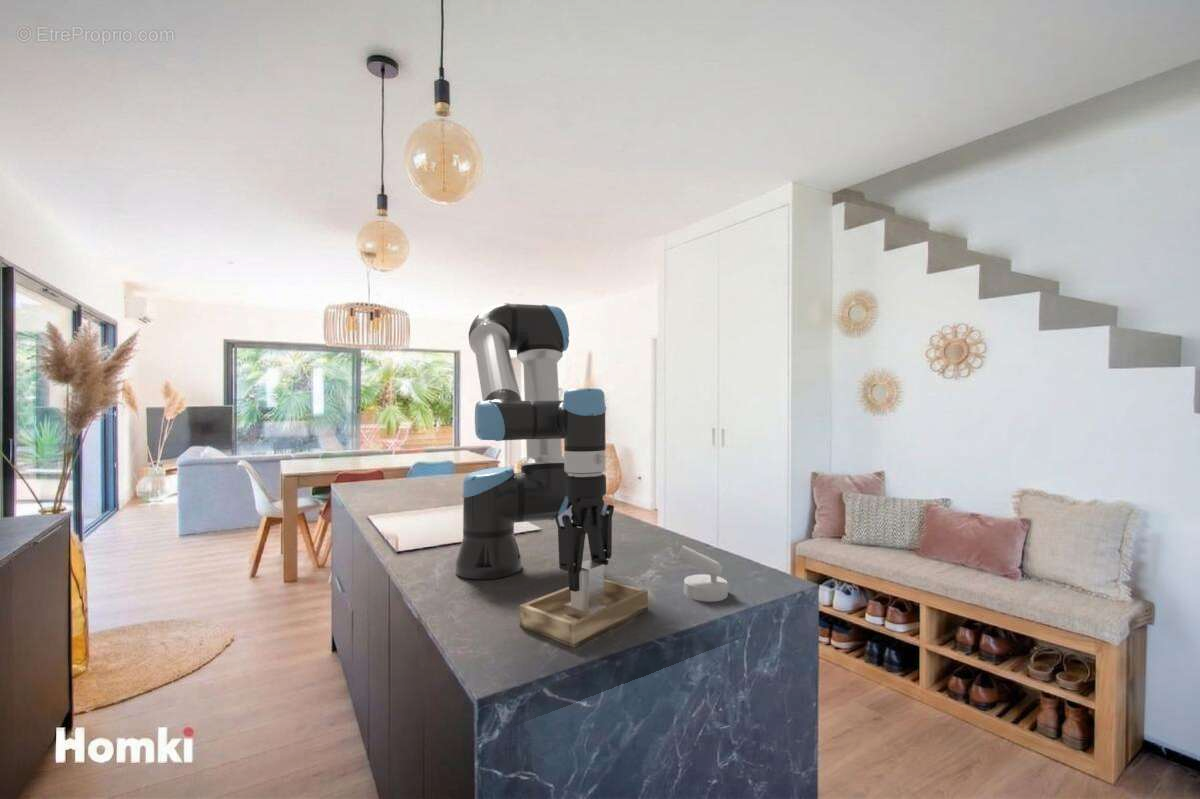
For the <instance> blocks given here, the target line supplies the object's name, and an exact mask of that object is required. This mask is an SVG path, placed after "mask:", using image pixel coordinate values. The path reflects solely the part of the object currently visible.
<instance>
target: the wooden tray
mask: <svg viewBox="0 0 1200 799" xmlns="http://www.w3.org/2000/svg"><path fill="white" fill-rule="evenodd" d="M648 597H649V595H648V590H645V589H642V588H638V587H635V586H631V585H628V584H627V585H626V584H624V583H621V582H617V581H613V580H609V579H606V578H604V606H605V608H602V609H600V610H598V611H596V612H594V613H592V614H589V615H587V616H585V617H583V618H581V619H580V618H578V617H575V616H572V615H569V614H566V613H565V604H567V603H569V602H571V590H570V589H569V586H567V587H564V588H561V589H559V590H556V591H553V592H551V593H548V594H546V595H544V596H540V597H538V598H536V599H533V600H530V601H528V602H525V603H522V604H520V605H519V616H518V617H519V619H518V620H519V627H521V628H523V629H527V630H529V631H531V632H534V633H536V634H539V635H541V636H544V637H546V638H549V639H551V640H553V641H556V642H558V643H561V644H564V645H566V646H568V647H571V648H573V649H575V648H576V647H578V646H580V645H582V644H585V643H586V642H588V641H590V640H592V639H594V638H595V637H598V636H600V635H601V634H604V633H605V632H607V631H609V630H611V629H613V628H615V627H617V626H618V625H621V624H623V623H625V622H626V621H629V620H630V619H633V618H634V617H636V616H639V615H640V614H642V613H644V612H646V611H648V609H649V606H648V604H649V602H648V600H649V599H648Z"/></svg>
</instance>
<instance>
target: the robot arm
mask: <svg viewBox="0 0 1200 799" xmlns="http://www.w3.org/2000/svg"><path fill="white" fill-rule="evenodd" d="M569 338H570V328H569V322H568V319H567V316H566V313H565V312H564V311H563V309H562V308H560V307H558V306H554V305H553V306H552V305H547V304H528V303H527V304H525V303H522V304H521V303H509V302H508V303H507V302H502V303H497V304H494V305H490V306H489V307H487V308H485V309H484V310H482V311H481V312H480V313H478V315H477V316H476V317H474V319H473V321H472V323H471V324H470V326H469V331H468V343H469V347H470V350H472V352H473V353H474V354H475V358H476V359H475V360H476V365H477V366H476V367H477V372H478V378H479V384H480V392H481V397H482V401H481V400H480V401H478V402H476V403H475V407H474V431H475V436H476V438H477V439H479V440H481V441H495V442H502V441H520V440H522V441H523V440H526V442H525V444H526V459H525V460H524V462H523V463H522V464H521V465H520V472H515V470H514V467H511V466H501V467H500V466H498V467H497V466H496V467H491V468H485V469H481V470H477V471H474V472H471V473H468V474H467V475H466V476H465V477H464V479H463V483H462V484H463V486H462V494H461V497H462V499H463V500H462V501H463V502H462V503H463V504H462V510H463V511H462V517H463V518H462V522H463V523H462V525H463V526H462V540H461V543H460V546H459V550H458V554H457V558H456V560H455V563H454V564H455V571H454V572H455V574H456V575H457V576H458V577H461V578H465V579H468V580H469V579H470V580H494V579H500V578H505V577H509V576H512V575H515V574H517V573H519V572H520V571H521V570H522V568H523V566H522V555H521V554H520V550H519V545H518V543H517V540H516V537H515V526H514V525H515V523H526V522H527V523H529V522H539V521H540V522H541V521H542V522H543V521H555V523H556V526H557V532H558V533H557V537H558V538H557V540H558V541H557V543H558V565H559V566H558V567H559V569H560V570H562V571H566V572H567V573H568V587H569V589H570V590H571V607H572V608H576V609H579V610H582V611H583V610H585V572H583V571H581V567H582V562H583V557H584V550H585V540H586V534H587V541H588V545H589V547H588V548H589V553H590V559H591V560H590V561H593V562H597V563H601V564H604V566H608V564H609V561H610V560H608V559H611V558H612V552H613V550H612V548H613V546H612V545H613V544H612V541H613V540H612V538H613V536H612V535H613V533H612V532H613V527H612V526H613V525H612V524H613V516H614V510H615V506H614V504H608V503H605V501H604V499H603V498H604V496H605V495H606V494H607V476H606V474H603V473H605V471H606V470H607V469H606V467H607V466H606V411H607V406H606V400H605V399H606V398H605V392H604V391H603V390H602V389H601V388H594V387H593V388H591V387H589V388H588V387H585V388H584V387H583V388H579V387H578V388H567V389H566V390H565V391H564V392H563V399H562V400H560V393H559V375H558V374H559V373H558V362H559V361H560V360H561V359H562V358H563V355H564V354H563V353H564V352H566V351H567V350H568V347H569V345H570V344H569V343H570V339H569ZM509 350H510V351H516V359H517V360H519V361H520V363H522V364H523V366H522V367H523V388H524V389H523V390H524V393H523V394H524V400H522V397H521V393H520V390H519V386H518V381H517V378H516V374H515V369H514V366H513V362H512V358H511V353H510V351H509ZM562 439H563V441H564V442H563V443H564V448H562V446H563V445H562ZM562 449H563V450H564V453H563V450H562ZM563 455H564V457H563ZM574 564H575V565H574Z"/></svg>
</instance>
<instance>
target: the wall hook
mask: <svg viewBox="0 0 1200 799" xmlns="http://www.w3.org/2000/svg"><path fill="white" fill-rule="evenodd" d="M676 560H679V561H680V562H682V563H684V564H686V565H688V566H690V567H692V568H694V569H696V570H698V571H700V572H703V574H692V575H688V576H686V577H685V578H684V580H683V595H685V596H686V597H687V598H689V599H691V600H694V601H698V602H706V603H707V602H708V603H709V602H718V601H719V602H720V601H723V600H725V599H727V598H728V596H729V594H728V592H729V591H728V580H726V579H725V578H723V577H721V575H722V573H723V566H722V565H721V564H720V563H719V562H718V561H717V560H715V559H712V558H711V557H708V556H707V555H704V554H702V553H700V552H699V551H696V550H694V549H692V548H690V547H688V546H685V545H683V544H682V545H681V547H680V550H679V552H678V554H677V558H676Z"/></svg>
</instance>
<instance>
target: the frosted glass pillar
mask: <svg viewBox="0 0 1200 799" xmlns="http://www.w3.org/2000/svg"><path fill="white" fill-rule="evenodd" d="M574 565H575V564H574ZM604 569H605V565H604V564H601V563H597V562H593V561H592V560H588V559H587V560H584V561H583V560H582V567H581V571H583V572H585V610H583V611H582V610H579V609H576V608H572V607H571V602H569V603H567V604H565V613H566V614H569V615H572V616H575V617H578V618H580V619H581V618H583V617H585V616H587V615H589V614H592V613H594V612H596V611H598V610H600V609H602V608H605V606H604V579H605V570H604Z"/></svg>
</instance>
